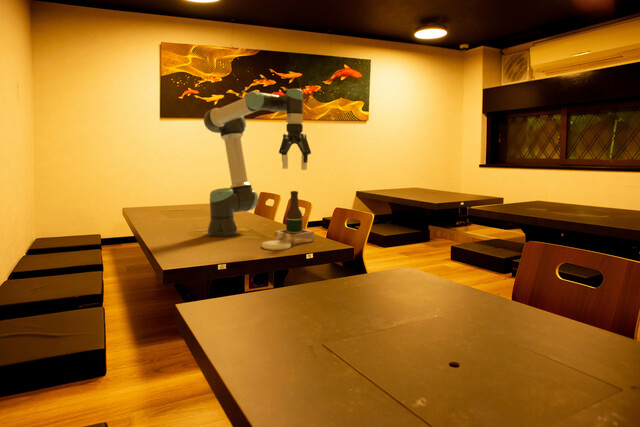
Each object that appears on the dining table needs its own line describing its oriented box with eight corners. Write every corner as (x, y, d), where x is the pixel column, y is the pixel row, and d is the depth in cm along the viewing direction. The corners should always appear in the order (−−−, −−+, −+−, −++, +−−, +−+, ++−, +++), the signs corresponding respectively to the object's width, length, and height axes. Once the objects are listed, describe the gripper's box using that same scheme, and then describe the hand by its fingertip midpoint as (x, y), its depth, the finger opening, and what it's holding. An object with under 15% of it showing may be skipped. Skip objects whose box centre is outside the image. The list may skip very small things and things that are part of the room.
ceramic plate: (256, 246, 199) (256, 243, 199) (278, 242, 208) (278, 239, 208) (274, 251, 190) (274, 247, 189) (296, 246, 199) (296, 243, 198)
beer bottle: (303, 239, 216) (303, 190, 213) (301, 242, 208) (301, 192, 205) (287, 238, 217) (287, 190, 213) (284, 241, 209) (284, 191, 206)
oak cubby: (274, 240, 213) (274, 231, 212) (295, 236, 222) (295, 227, 221) (292, 244, 203) (292, 235, 203) (313, 240, 213) (313, 231, 212)
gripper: (271, 123, 211) (271, 168, 214) (306, 122, 193) (306, 170, 196) (283, 124, 216) (283, 167, 219) (319, 123, 198) (318, 170, 201)
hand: (294, 169), depth 207 cm, fingers open, 13 cm apart
